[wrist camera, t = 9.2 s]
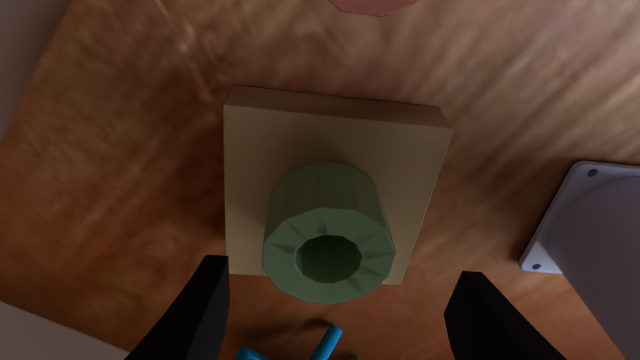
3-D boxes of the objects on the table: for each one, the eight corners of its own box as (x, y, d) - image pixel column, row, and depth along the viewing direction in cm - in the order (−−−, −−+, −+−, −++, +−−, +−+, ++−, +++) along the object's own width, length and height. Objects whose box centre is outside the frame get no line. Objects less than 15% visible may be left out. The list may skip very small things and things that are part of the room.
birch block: (439, 106, 19) (455, 129, 17) (393, 255, 24) (401, 285, 22) (232, 84, 18) (222, 104, 16) (233, 243, 23) (225, 273, 21)
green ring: (369, 253, 21) (379, 307, 18) (267, 246, 20) (259, 299, 17) (392, 167, 18) (408, 214, 15) (272, 155, 17) (265, 202, 14)
